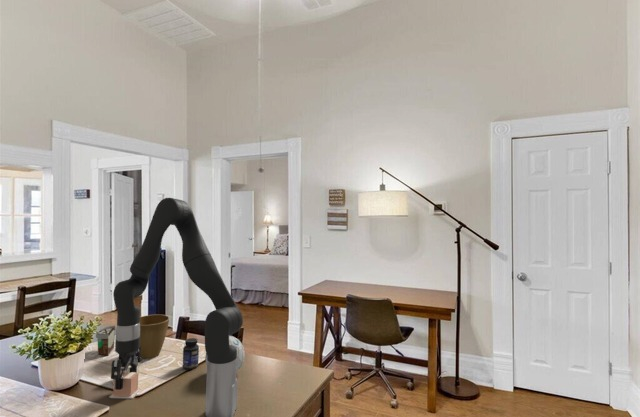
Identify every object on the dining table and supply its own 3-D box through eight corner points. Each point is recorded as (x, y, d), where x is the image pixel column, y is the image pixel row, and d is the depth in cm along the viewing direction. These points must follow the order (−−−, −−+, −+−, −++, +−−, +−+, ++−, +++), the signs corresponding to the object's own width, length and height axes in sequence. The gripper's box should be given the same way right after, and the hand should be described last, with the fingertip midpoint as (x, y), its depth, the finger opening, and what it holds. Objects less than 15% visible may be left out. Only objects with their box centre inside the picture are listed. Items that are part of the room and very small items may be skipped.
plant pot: (132, 351, 157) (134, 316, 157) (168, 347, 162) (169, 313, 163) (128, 364, 143) (130, 326, 143) (167, 359, 149) (169, 322, 149)
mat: (141, 389, 123) (141, 388, 123) (132, 398, 117) (132, 397, 117) (119, 389, 123) (119, 388, 123) (109, 398, 117) (109, 396, 117)
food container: (99, 347, 160) (100, 326, 160) (114, 346, 162) (115, 325, 162) (90, 358, 148) (91, 335, 148) (107, 357, 150) (108, 334, 150)
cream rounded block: (138, 377, 132) (138, 361, 132) (131, 383, 127) (132, 367, 127) (120, 377, 132) (120, 361, 132) (112, 383, 127) (113, 366, 127)
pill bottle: (192, 370, 139) (193, 343, 139) (179, 369, 140) (180, 341, 140) (201, 364, 145) (202, 338, 145) (188, 362, 146) (188, 336, 146)
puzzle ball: (196, 377, 134) (197, 338, 134) (225, 363, 147) (226, 327, 147) (224, 387, 126) (225, 346, 126) (252, 372, 139) (253, 334, 139)
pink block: (137, 389, 122) (138, 372, 122) (130, 396, 118) (131, 378, 118) (121, 389, 122) (121, 371, 122) (113, 395, 118) (114, 377, 118)
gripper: (127, 344, 113) (125, 394, 113) (148, 330, 128) (147, 374, 127) (104, 343, 113) (102, 393, 113) (128, 329, 128) (127, 373, 127)
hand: (126, 383), depth 120 cm, fingers open, 8 cm apart
